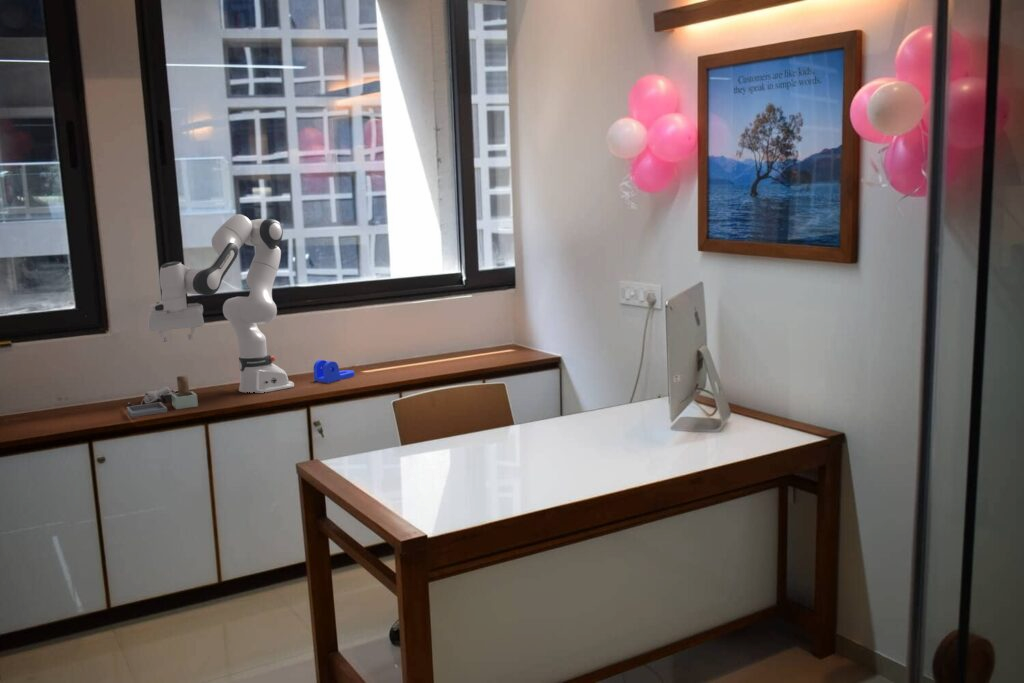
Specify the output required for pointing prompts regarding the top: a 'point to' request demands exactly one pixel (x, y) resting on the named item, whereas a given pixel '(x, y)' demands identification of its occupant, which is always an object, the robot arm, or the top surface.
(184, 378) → the walnut dowel
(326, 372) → the bracket
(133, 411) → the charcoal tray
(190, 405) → the sage pot
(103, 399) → the top surface
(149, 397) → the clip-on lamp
